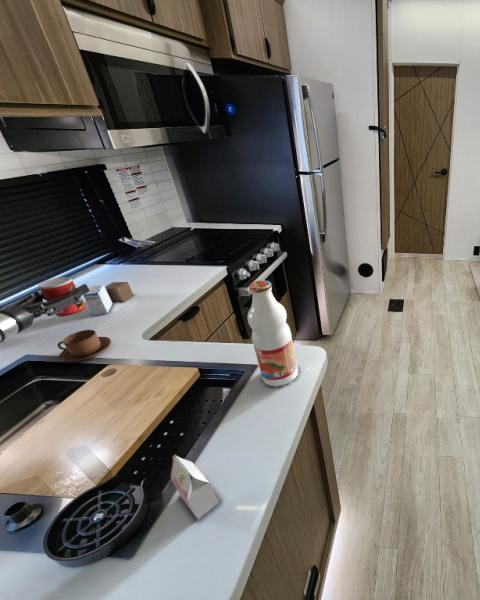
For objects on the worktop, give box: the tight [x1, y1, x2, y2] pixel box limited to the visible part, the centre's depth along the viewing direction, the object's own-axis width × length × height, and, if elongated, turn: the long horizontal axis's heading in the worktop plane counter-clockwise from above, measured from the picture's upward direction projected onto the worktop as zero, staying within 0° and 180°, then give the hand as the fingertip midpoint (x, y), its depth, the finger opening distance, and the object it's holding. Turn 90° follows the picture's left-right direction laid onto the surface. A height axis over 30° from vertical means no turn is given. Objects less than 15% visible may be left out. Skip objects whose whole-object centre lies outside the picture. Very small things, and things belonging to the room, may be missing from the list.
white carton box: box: [169, 454, 220, 520], centre depth 59 cm, size 4×7×10 cm, turn 53°
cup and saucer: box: [57, 329, 112, 363], centre depth 99 cm, size 12×12×6 cm
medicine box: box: [82, 284, 113, 316], centre depth 122 cm, size 8×4×9 cm, turn 27°
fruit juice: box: [246, 279, 299, 387], centre depth 84 cm, size 9×9×28 cm
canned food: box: [37, 276, 86, 317], centre depth 109 cm, size 8×8×11 cm
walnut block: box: [104, 281, 134, 303], centre depth 131 cm, size 6×6×6 cm
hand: (74, 287), depth 113 cm, fingers closed on canned food, 8 cm apart
